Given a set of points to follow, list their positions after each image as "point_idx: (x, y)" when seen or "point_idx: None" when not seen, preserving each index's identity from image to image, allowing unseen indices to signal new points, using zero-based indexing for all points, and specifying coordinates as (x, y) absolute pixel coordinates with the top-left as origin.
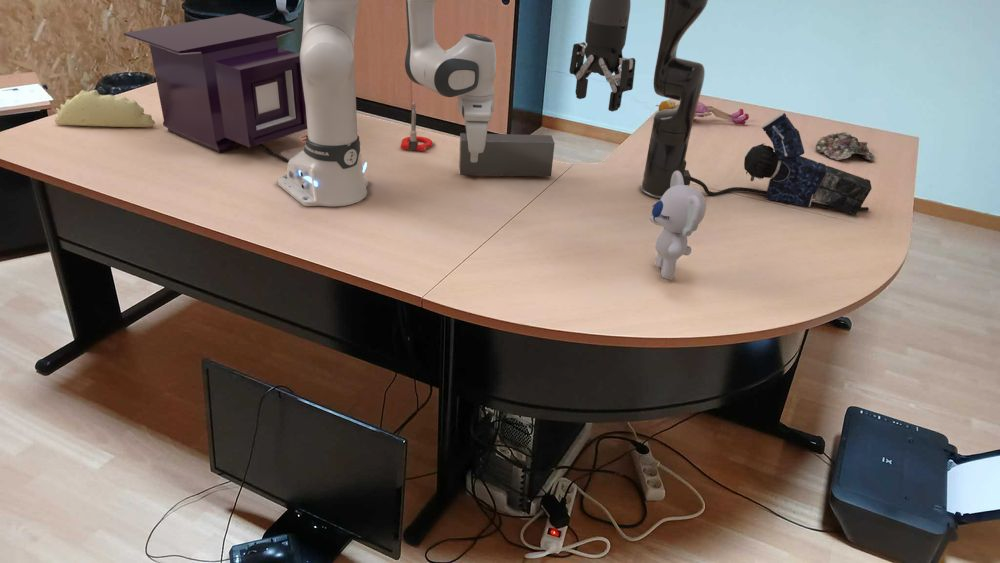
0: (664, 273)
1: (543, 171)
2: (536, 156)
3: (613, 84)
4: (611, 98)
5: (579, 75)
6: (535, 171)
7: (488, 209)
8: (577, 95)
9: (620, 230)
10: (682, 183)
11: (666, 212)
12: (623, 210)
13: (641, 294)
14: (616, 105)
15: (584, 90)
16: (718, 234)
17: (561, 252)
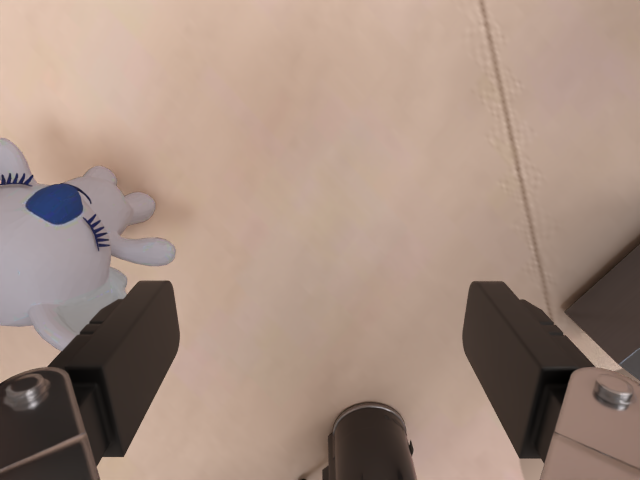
0: (93, 167)
1: (586, 304)
2: (628, 310)
3: (15, 435)
4: (109, 329)
5: (601, 407)
6: (601, 290)
7: (577, 78)
8: (497, 288)
9: (304, 256)
10: (27, 313)
11: (8, 193)
12: (360, 324)
13: (82, 83)
14: (97, 322)
15: (484, 359)
16: (188, 384)
17: (311, 71)
